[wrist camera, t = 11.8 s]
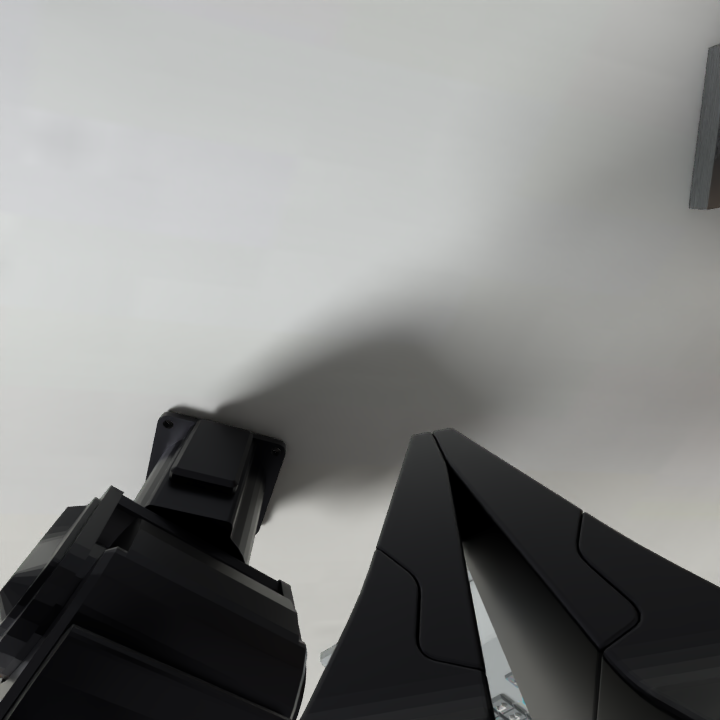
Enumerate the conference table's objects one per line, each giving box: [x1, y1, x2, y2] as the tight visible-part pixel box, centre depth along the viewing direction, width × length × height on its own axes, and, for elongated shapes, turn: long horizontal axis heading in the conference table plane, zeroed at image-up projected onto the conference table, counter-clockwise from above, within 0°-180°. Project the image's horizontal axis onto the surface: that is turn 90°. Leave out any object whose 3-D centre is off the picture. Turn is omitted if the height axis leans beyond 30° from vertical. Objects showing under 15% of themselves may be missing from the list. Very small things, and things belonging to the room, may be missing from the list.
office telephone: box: [320, 564, 532, 720], centre depth 31 cm, size 23×3×20 cm
